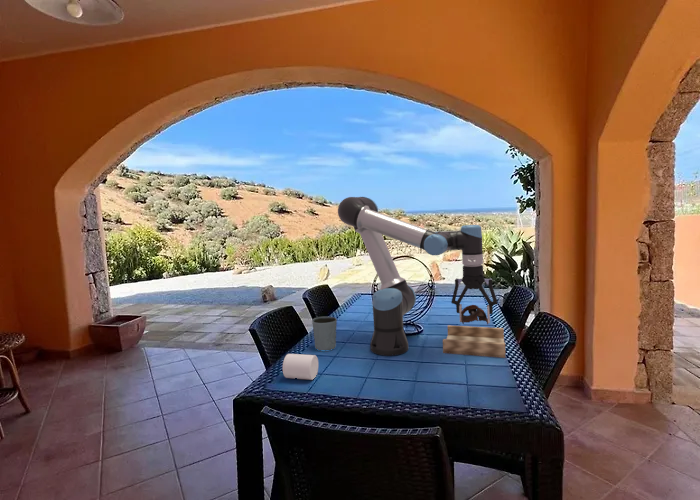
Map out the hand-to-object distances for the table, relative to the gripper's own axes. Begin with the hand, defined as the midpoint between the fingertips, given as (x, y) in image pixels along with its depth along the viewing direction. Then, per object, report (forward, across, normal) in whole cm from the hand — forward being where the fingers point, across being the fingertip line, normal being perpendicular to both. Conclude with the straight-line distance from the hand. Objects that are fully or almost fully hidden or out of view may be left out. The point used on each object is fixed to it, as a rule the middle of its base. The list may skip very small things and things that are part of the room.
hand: (474, 321), depth 148 cm
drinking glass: (+10, -58, -13) cm, 61 cm away
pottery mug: (+1, 0, 0) cm, 1 cm away
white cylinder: (+10, -56, -40) cm, 69 cm away
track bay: (+10, 0, 0) cm, 10 cm away
